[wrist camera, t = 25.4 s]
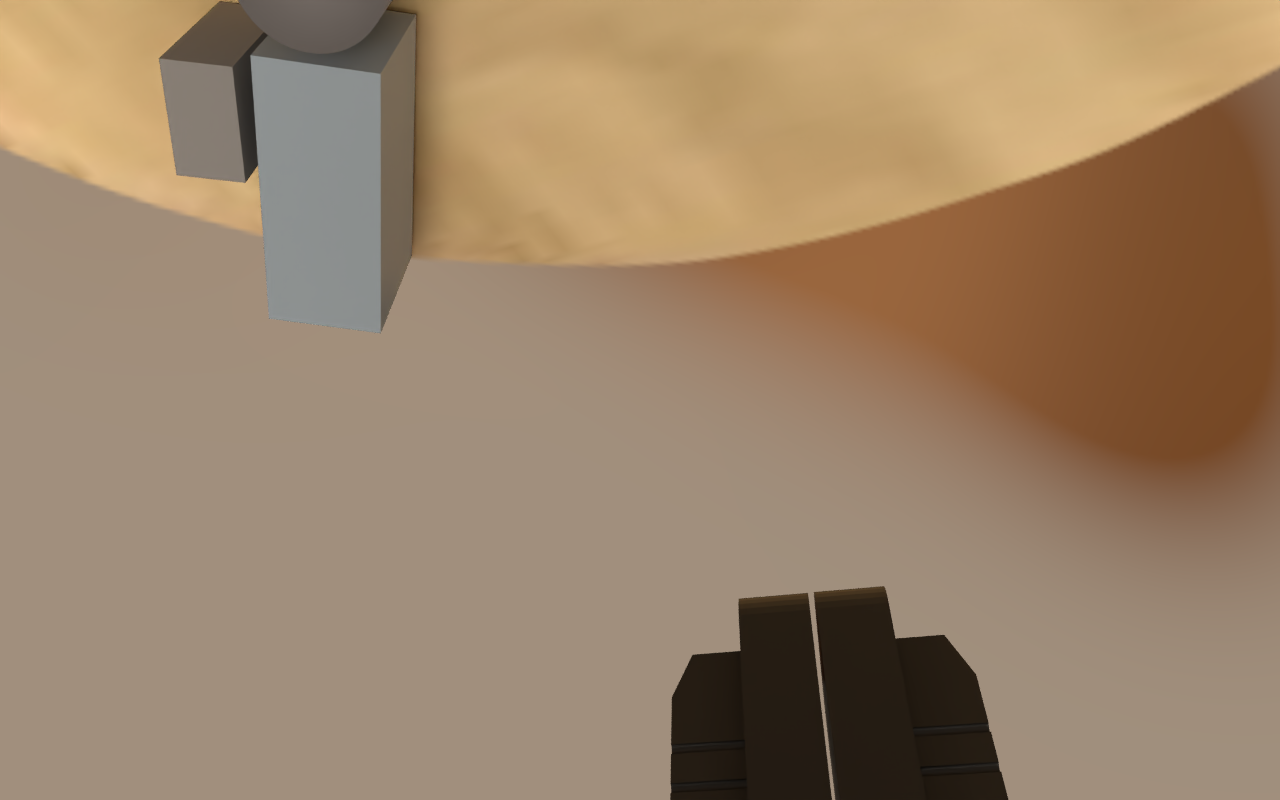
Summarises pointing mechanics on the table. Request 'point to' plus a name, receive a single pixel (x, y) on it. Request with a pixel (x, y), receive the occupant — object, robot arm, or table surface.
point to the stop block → (213, 95)
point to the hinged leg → (334, 156)
